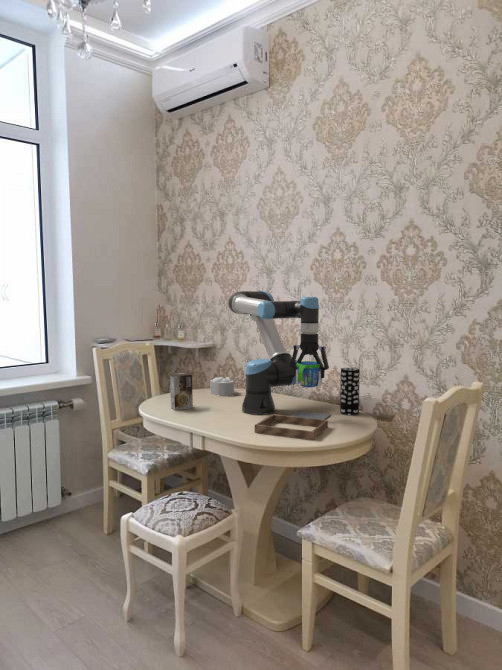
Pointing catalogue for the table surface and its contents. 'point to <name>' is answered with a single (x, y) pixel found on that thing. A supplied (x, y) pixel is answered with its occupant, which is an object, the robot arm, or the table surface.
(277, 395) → the table surface
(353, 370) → the spotted tube
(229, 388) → the lumpy-topped squat cylinder
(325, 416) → the slate mat
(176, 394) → the coffee box
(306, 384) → the snack cup
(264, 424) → the wooden frame
